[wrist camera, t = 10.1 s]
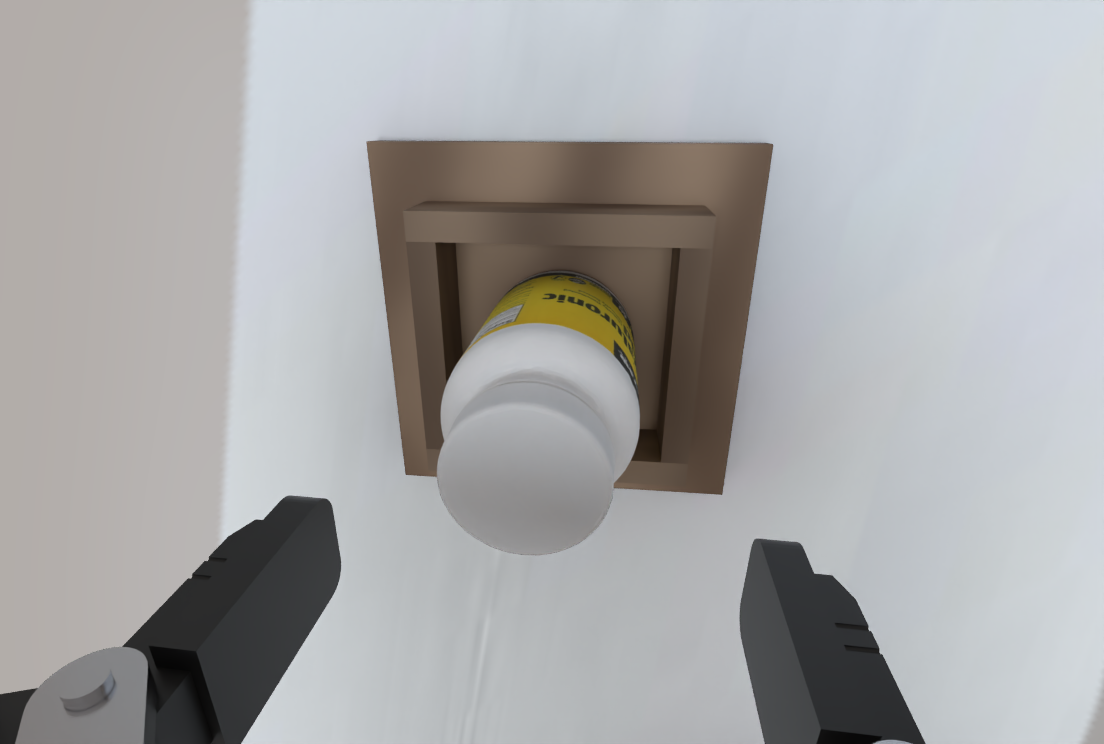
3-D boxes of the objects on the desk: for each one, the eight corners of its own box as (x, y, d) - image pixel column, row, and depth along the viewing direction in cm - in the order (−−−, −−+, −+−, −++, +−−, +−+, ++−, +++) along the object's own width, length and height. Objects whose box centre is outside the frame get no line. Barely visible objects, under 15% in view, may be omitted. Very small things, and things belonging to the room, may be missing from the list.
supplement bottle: (664, 345, 22) (698, 506, 13) (556, 426, 24) (518, 617, 15) (567, 234, 21) (527, 324, 12) (461, 329, 23) (354, 472, 14)
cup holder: (766, 142, 20) (794, 147, 17) (718, 481, 26) (732, 532, 22) (377, 140, 21) (334, 144, 18) (412, 462, 27) (385, 508, 24)
